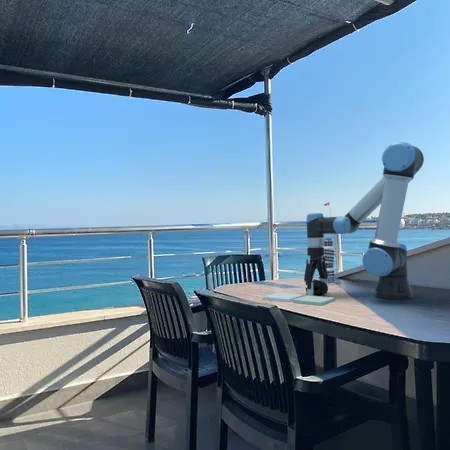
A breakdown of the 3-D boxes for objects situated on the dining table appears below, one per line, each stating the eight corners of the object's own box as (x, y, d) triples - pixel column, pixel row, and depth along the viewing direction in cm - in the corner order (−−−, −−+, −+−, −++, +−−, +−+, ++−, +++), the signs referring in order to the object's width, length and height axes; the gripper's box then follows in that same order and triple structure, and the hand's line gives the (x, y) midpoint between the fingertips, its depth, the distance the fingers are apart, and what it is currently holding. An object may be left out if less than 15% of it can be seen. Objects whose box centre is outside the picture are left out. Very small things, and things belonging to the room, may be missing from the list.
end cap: (328, 296, 188) (328, 281, 189) (313, 297, 187) (313, 282, 187) (320, 293, 198) (319, 278, 198) (305, 293, 197) (305, 279, 197)
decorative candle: (314, 283, 233) (313, 237, 233) (329, 282, 236) (328, 237, 236) (323, 285, 224) (322, 238, 224) (338, 284, 227) (337, 237, 227)
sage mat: (307, 297, 186) (307, 295, 186) (335, 300, 178) (335, 297, 178) (292, 302, 176) (292, 299, 176) (321, 305, 168) (321, 302, 168)
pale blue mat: (278, 295, 195) (278, 292, 195) (303, 297, 187) (303, 294, 187) (262, 299, 185) (262, 296, 185) (288, 302, 177) (288, 299, 177)
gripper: (319, 245, 205) (321, 290, 205) (295, 248, 186) (296, 297, 186) (334, 245, 200) (335, 291, 200) (310, 248, 181) (311, 299, 181)
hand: (316, 294), depth 193 cm, fingers closed on end cap, 11 cm apart
